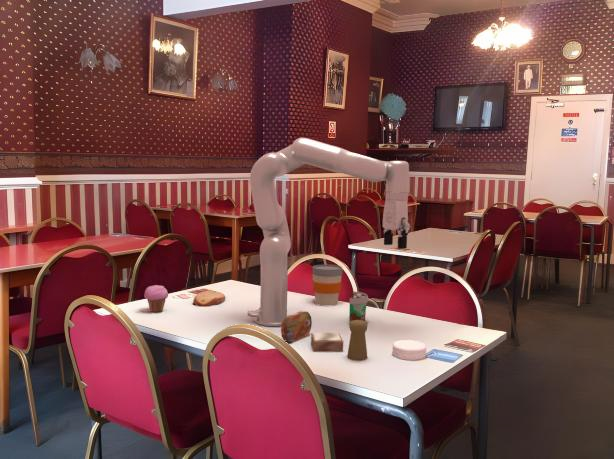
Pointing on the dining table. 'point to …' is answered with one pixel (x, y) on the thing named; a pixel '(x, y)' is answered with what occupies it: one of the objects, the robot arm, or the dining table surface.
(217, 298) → the bread slice
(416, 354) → the white round disc
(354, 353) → the cork
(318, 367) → the dining table surface
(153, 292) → the cupcake
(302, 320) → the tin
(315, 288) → the reusable coffee cup
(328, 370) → the dining table surface
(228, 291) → the dining table surface
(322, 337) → the plinth
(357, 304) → the food container
